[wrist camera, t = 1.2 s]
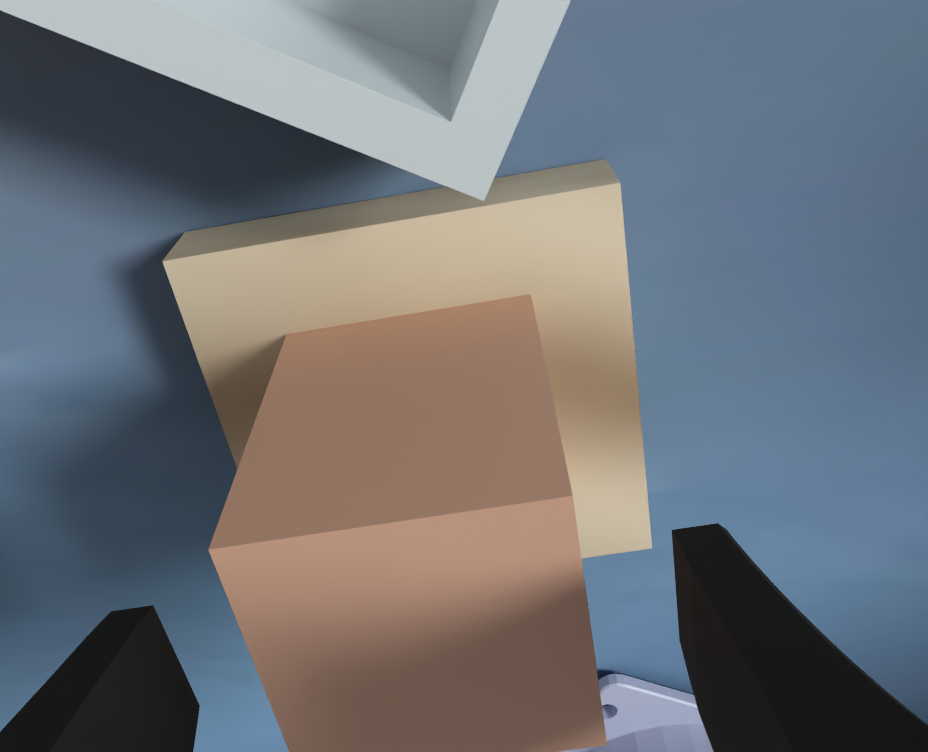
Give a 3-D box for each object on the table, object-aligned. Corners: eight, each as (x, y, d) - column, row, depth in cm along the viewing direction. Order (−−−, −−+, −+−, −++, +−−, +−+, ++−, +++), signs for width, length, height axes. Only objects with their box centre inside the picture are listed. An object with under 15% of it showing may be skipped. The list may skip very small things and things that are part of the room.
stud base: (638, 504, 20) (695, 686, 15) (295, 555, 20) (251, 745, 16) (606, 159, 16) (668, 264, 12) (184, 232, 17) (86, 360, 12)
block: (560, 494, 18) (607, 745, 13) (344, 526, 18) (302, 784, 13) (531, 293, 16) (573, 495, 10) (286, 334, 16) (207, 550, 11)
